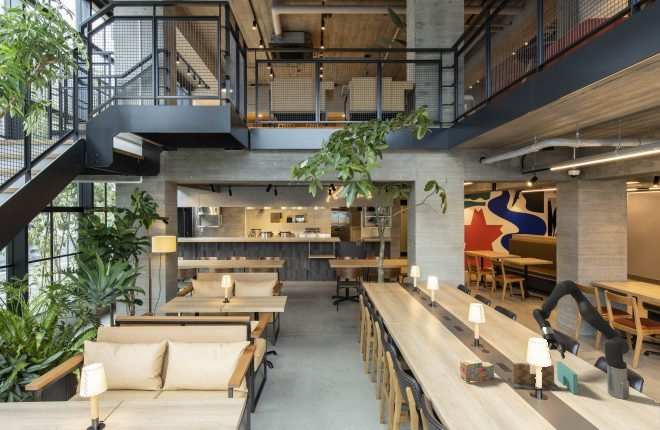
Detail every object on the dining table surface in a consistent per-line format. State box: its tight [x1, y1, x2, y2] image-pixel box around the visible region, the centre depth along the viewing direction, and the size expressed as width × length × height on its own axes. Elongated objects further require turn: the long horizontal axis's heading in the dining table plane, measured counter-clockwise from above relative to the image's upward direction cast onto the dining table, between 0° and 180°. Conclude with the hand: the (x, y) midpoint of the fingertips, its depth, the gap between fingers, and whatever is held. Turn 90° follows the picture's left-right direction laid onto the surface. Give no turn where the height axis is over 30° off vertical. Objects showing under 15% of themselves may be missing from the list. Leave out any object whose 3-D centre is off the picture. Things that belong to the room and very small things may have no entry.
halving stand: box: [506, 362, 561, 392], centre depth 231 cm, size 27×12×13 cm, turn 82°
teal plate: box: [556, 361, 579, 396], centre depth 228 cm, size 20×2×12 cm, turn 172°
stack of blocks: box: [459, 358, 495, 382], centre depth 240 cm, size 21×6×12 cm, turn 106°
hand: (556, 358), depth 241 cm, fingers open, 8 cm apart
